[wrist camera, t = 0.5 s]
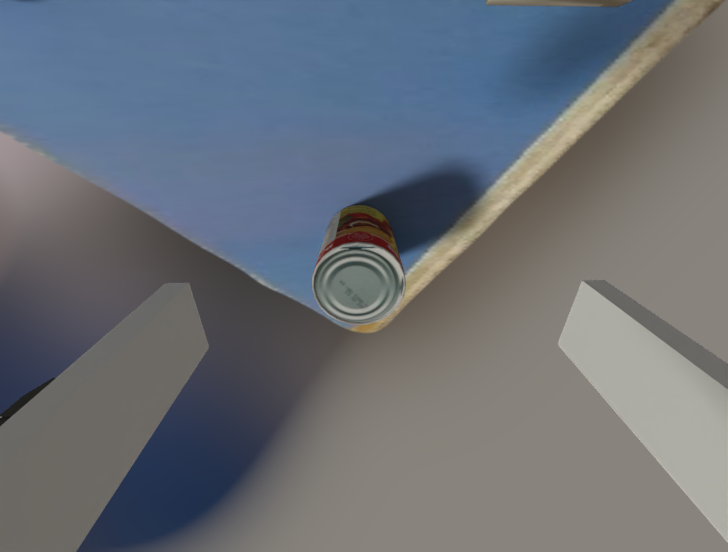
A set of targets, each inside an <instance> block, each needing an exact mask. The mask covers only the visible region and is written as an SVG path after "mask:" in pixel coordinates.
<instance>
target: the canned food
mask: <svg viewBox="0 0 728 552" xmlns="http://www.w3.org/2000/svg"><path fill="white" fill-rule="evenodd" d="M405 288H406V282H405V274H404V270H403V267H402V263H401V260H400V256H399V253H398V249H397V246H396V242H395V239H394V236H393V232H392V229H391V226H390V224H389V221H388V220H387V219H386V217H385V216H384V215H383V214H382V213H381V212H379V211H378V210H377V209H374V208H372V207H369V206H365V205H354V206H349V207H347V208H344V209H342V210H340V211H339V212H338V213H337V214H335V215H334V217H333V218H332V219H331V221H330V222H329V225H328V228H327V231H326V234H325V237H324V241H323V244H322V247H321V250H320V253H319V257H318V260H317V263H316V266H315V270H314V273H313V276H312V290H313V293H314V297H315V299H316V301H317V303H318V304H319V306H320V308H322V309H323V310H324V311H325V312H326V313H327V314H328V315H329V316H331V317H332V318H334V319H336V320H338V321H341V322H344V323H347V324H354V325H364V324H371V323H374V322H377V321H380V320H382V319H384V318H385V317H387V316H388V315H390V314H391V313H392V312H393V311H394V310H395V309H396V308H397V307H398V306H399V304H400V302H401V300H402V299H403V297H404V292H405Z"/></svg>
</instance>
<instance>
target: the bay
mask: <svg viewBox="0 0 728 552" xmlns="http://www.w3.org/2000/svg"><path fill="white" fill-rule="evenodd" d="M630 1H632V0H487V1H486V5H522V6H597V7H618V6H621V5H623V4H625V3H628V2H630Z"/></svg>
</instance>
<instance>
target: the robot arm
mask: <svg viewBox="0 0 728 552" xmlns="http://www.w3.org/2000/svg"><path fill="white" fill-rule="evenodd" d="M558 345H559V347H560V348H561V349H562V350H563V351H564V352H565V354H566V355H567V356H568V357H569V358H570V359H571V360H572V362H573V363H574V364H575V365H576V366H577V367H578V369H579V370H580V371H581V372H582V373H583V375H584V376H585V377H586V378H587V379H588V380H589V381H590V383H591V384H592V385H593V386H594V387H595V389H596V390H597V391H598V392H599V393H600V394H601V396H602V397H603V398H604V399H605V400H606V401H607V403H608V404H609V405H610V406H611V407H612V408H613V410H614V411H615V412H616V413H617V414H618V415H619V416H620V418H621V419H622V420H623V421H624V422H625V423H626V425H627V426H628V427H629V428H630V429H631V430H632V432H633V433H634V434H635V435H636V436H637V437H638V439H639V440H640V441H641V442H642V443H643V445H644V446H645V447H646V448H647V449H648V450H649V452H650V453H651V454H652V455H653V456H654V457H655V459H656V460H657V461H658V462H659V463H660V464H661V466H662V467H663V468H664V469H665V470H666V471H667V472H668V474H669V475H670V476H671V477H672V478H673V480H675V482H676V483H677V484H678V485H679V486H680V488H681V489H682V490H683V491H684V492H685V493H686V495H687V496H688V497H689V498H690V499H691V500H692V502H693V503H694V504H695V505H696V506H697V507H698V508H699V510H700V511H701V512H702V513H703V514H704V516H705V517H706V518H707V519H708V520H709V521H710V523H711V524H712V525H713V526H714V527H715V528H716V529H717V531H718V532H719V533H720V534H721V535H722V537H723V538H724V539H725V540H726V541H727V542H728V364H727V363H726V362H724V361H723V360H721V359H720V358H718V357H717V356H716V355H714V354H713V353H711V352H709V351H708V350H707V349H705V348H704V347H702V346H701V345H699V344H698V343H696V342H695V341H693V340H692V339H690V338H689V337H688V336H686V335H685V334H683V333H682V332H680V331H678V330H677V329H676V328H674V327H673V326H671V325H670V324H668V323H667V322H665V321H664V320H662V319H661V318H659V317H658V316H656V315H655V314H654V313H652V312H650V311H649V310H648V309H646V308H645V307H643V306H642V305H640V304H639V303H637V302H636V301H634V300H633V299H631V298H630V297H628V296H627V295H626V294H624V293H623V292H621V291H620V290H618V289H617V288H615V287H614V286H612V285H611V284H609V283H608V282H606V281H605V280H593V281H592V280H586V281H582V282H581V285H580V287H579V290H578V292H577V295H576V298H575V300H574V303H573V305H572V308H571V311H570V314H569V316H568V318H567V321H566V324H565V326H564V329H563V332H562V334H561V337H560V339H559V342H558ZM208 348H209V345H208V342H207V340H206V336H205V333H204V330H203V326H202V323H201V320H200V317H199V313H198V310H197V307H196V304H195V301H194V298H193V294H192V291H191V288H190V285H189V283H165V284H164V285H163V286H162V287H161V288H160V289H159V290H158V291H156V292H155V293H154V294H153V295H152V296H150V297H149V298H148V299H147V300H146V301H145V302H144V303H142V304H141V305H140V306H139V307H138V308H137V309H135V310H134V311H133V312H132V313H131V314H130V315H128V316H127V317H126V318H125V319H124V320H123V321H121V322H120V323H119V324H118V325H117V326H116V327H115V328H113V330H111V331H110V332H109V333H108V334H106V335H105V336H104V337H103V338H102V339H101V340H100V341H98V342H97V343H96V344H95V345H94V346H93V347H91V348H90V349H89V350H88V351H87V352H86V353H84V354H83V355H82V356H81V357H80V358H79V359H78V360H76V361H75V362H74V363H73V364H72V365H71V366H69V367H68V368H67V369H66V370H65V371H64V372H63V373H61V374H60V375H59V376H58V377H57V378H52V379H51V380H49V381H47V382H46V383H44V384H42V385H41V386H39V387H37V388H36V389H34V390H32V391H30V392H29V393H27V394H25V395H24V396H23V397H21V398H20V399H19V400H18V401H17V402H15V403H14V404H13V405H12V406H11V407H9V408H8V409H7V410H6V411H4V412H3V413H2V414H1V415H0V552H76V551H77V549H78V548H79V546H80V544H81V543H82V542H83V540H84V538H85V537H86V535H87V534H88V532H89V531H90V529H91V528H92V526H93V525H94V523H95V522H96V520H97V518H98V517H99V515H100V514H101V512H102V511H103V509H104V508H105V506H106V505H107V503H108V502H109V500H110V498H111V497H112V495H113V494H114V492H115V491H116V489H117V488H118V486H119V485H120V483H121V482H122V480H123V478H124V477H125V475H126V474H127V472H128V471H129V469H130V468H131V466H132V465H133V463H134V462H135V460H136V459H137V457H138V456H139V454H140V452H141V451H142V449H143V447H144V446H145V445H146V443H147V442H148V440H149V439H150V437H151V436H152V434H153V432H154V431H155V429H156V428H157V426H158V425H159V423H160V422H161V420H162V419H163V417H164V416H165V414H166V413H167V411H168V409H169V408H170V406H171V405H172V403H173V402H174V400H175V398H176V397H177V396H178V394H179V393H180V391H181V390H182V388H183V386H184V385H185V383H186V382H187V380H188V378H189V377H190V376H191V374H192V373H193V371H194V370H195V368H196V366H197V365H198V363H199V362H200V360H201V359H202V357H203V356H204V354H205V353H206V351H207V350H208Z"/></svg>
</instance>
